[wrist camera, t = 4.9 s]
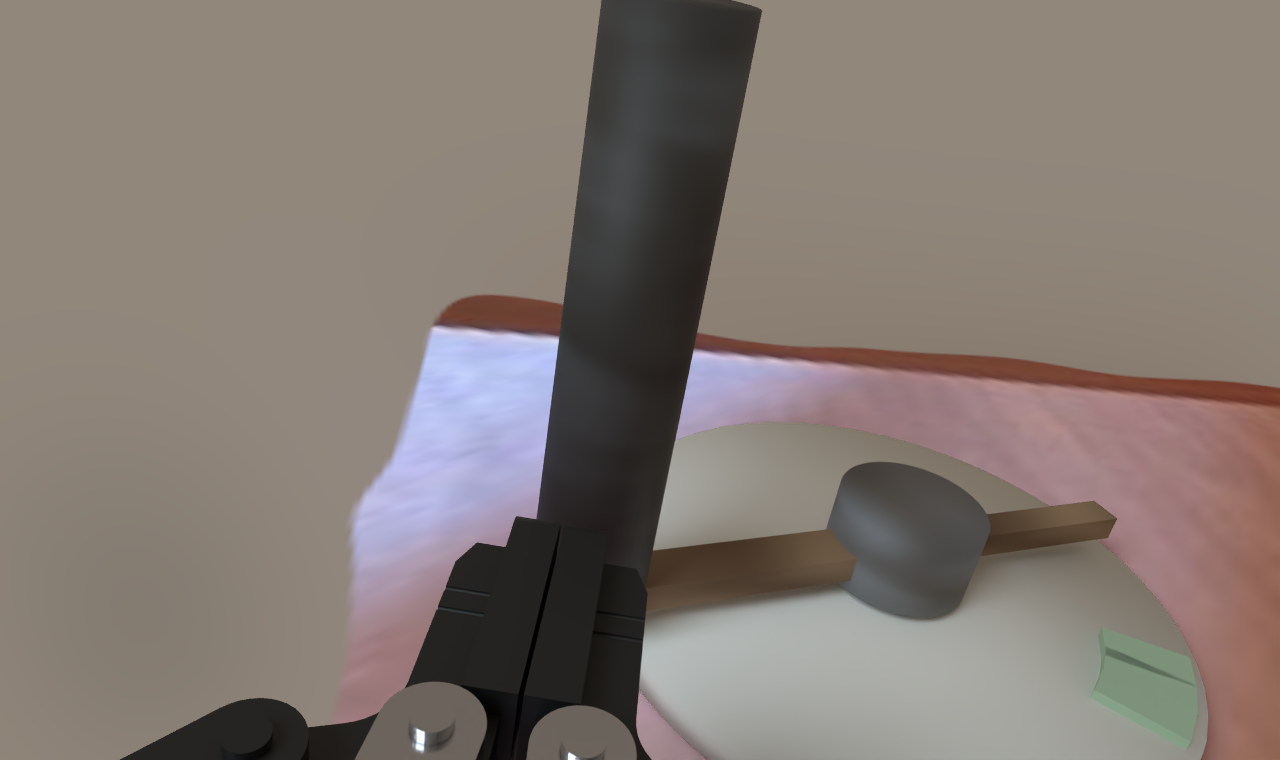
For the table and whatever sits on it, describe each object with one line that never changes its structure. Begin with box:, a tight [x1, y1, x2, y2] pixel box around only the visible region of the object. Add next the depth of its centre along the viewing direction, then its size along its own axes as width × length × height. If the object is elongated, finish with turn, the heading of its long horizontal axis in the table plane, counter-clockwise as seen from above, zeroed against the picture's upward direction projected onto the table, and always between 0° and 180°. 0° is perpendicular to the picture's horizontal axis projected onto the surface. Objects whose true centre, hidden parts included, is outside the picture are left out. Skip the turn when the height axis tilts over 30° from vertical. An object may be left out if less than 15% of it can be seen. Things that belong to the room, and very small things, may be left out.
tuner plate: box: [639, 422, 1209, 760], centre depth 28 cm, size 18×18×1 cm
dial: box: [537, 0, 1117, 618], centre depth 24 cm, size 20×4×15 cm, turn 111°
